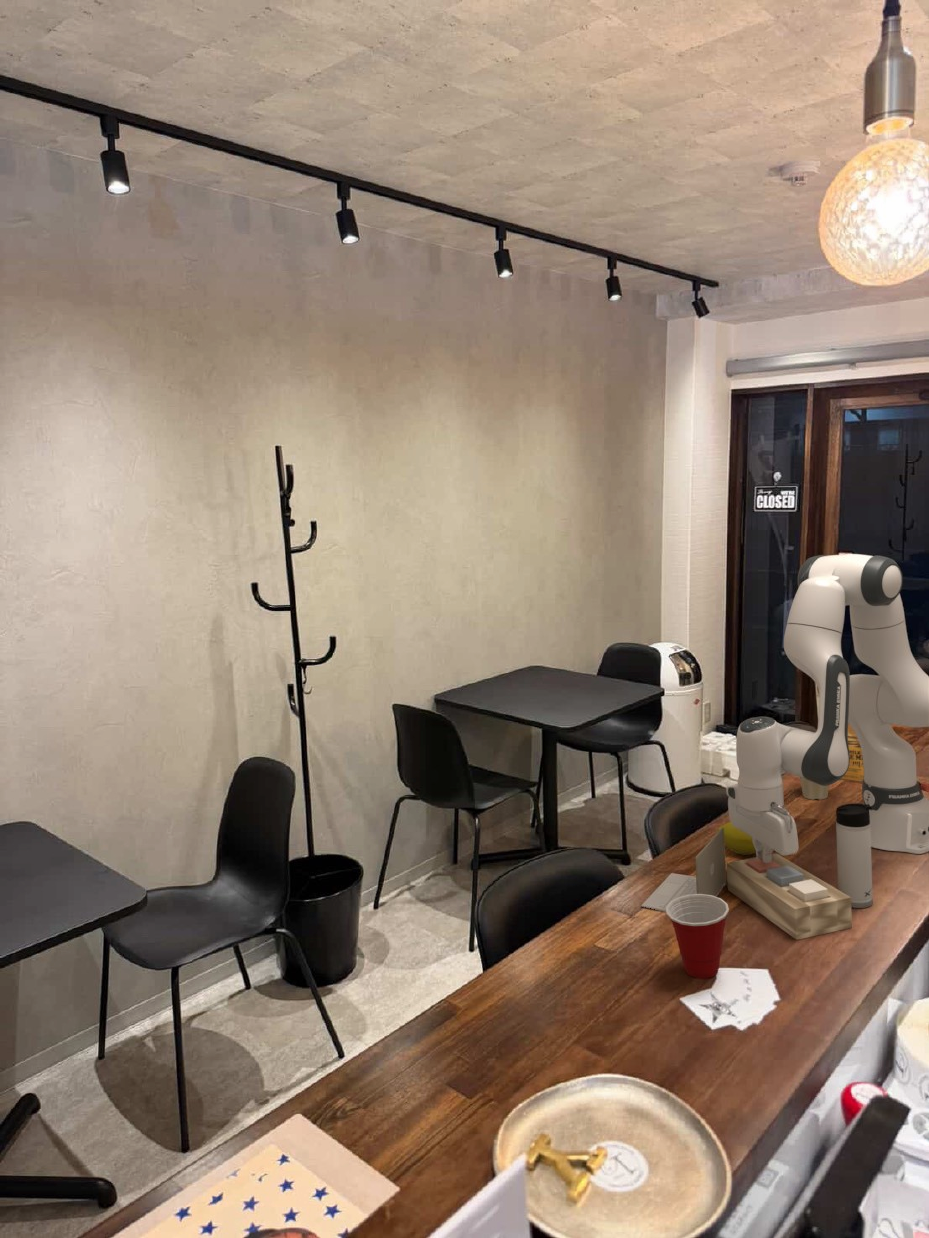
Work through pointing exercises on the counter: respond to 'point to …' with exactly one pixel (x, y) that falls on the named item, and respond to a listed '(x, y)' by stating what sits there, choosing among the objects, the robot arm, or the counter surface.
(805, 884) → the white key
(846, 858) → the travel mug
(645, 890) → the counter surface
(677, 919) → the plastic cup
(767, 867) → the red key
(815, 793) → the flower pot
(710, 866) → the laptop
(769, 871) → the slate key
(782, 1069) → the counter surface
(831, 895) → the key panel
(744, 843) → the lemon
